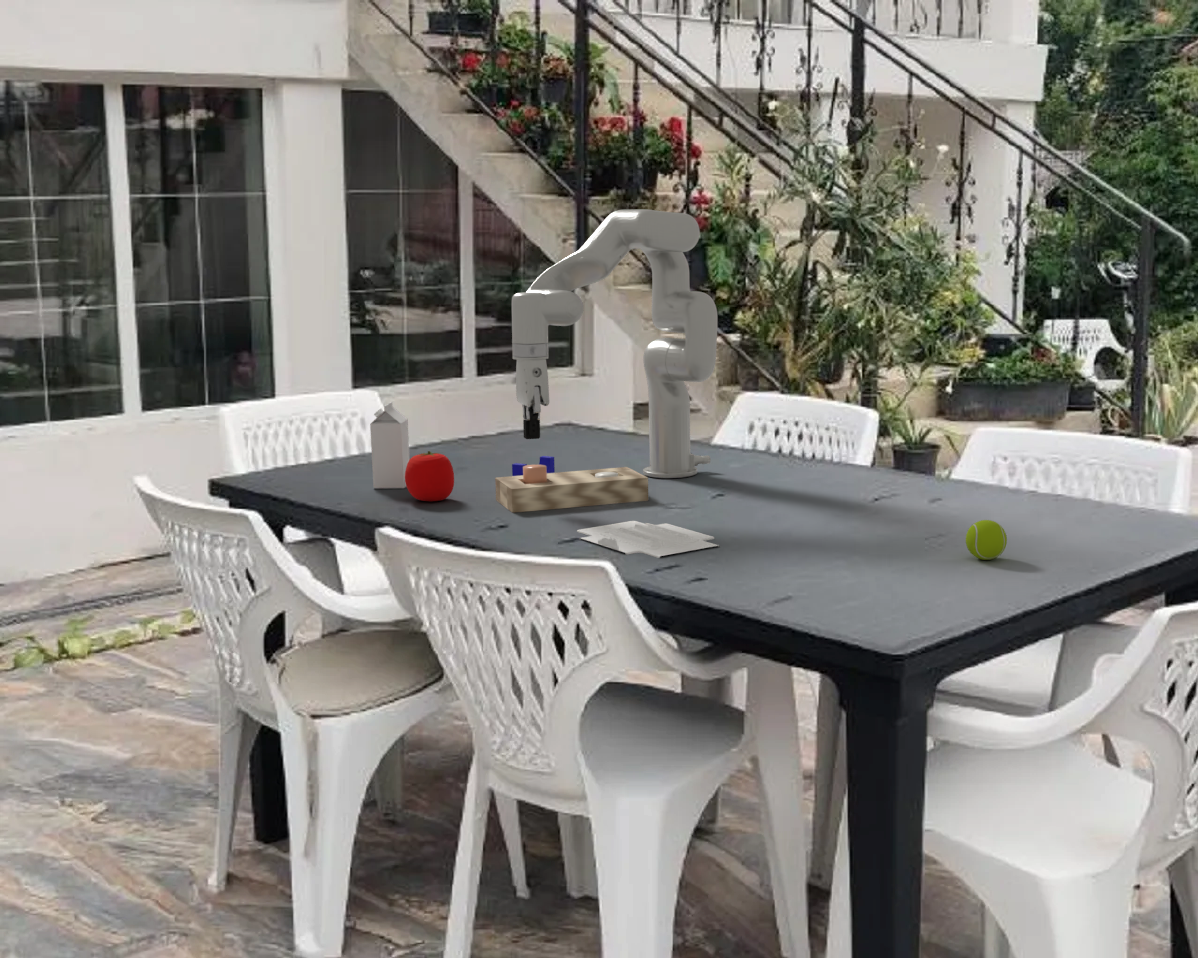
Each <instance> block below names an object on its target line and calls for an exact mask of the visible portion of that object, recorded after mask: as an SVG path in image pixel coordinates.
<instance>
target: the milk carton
mask: <svg viewBox="0 0 1198 958" xmlns="http://www.w3.org/2000/svg"><path fill="white" fill-rule="evenodd" d="M383 409H384V410H383ZM383 409H382V408H379V409H378V410H377V411H375V413H374V414H373V416H374V417H376V418H374V420H373V421H372V422H371V423H370V425H369V428H370V430H369V431H370V447H371V462H372V463H371V465H372V466H371V467H372V485H373V489H405V488H407V486H406V483H405V470H406V467H407V464H408V462H409V460H410V459H411V457H410V442H409V441H410V440H409V438H410V436H409V422H408V418H407V417H406V416H405V415H403V414H402V413H401V412H400V411H399V410H397V409H396V407H394V406H393V401H390V402H389V403H387V404H385V405H384V406H383Z"/></svg>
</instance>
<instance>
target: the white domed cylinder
mask: <svg viewBox="0 0 1198 958" xmlns="http://www.w3.org/2000/svg"><path fill="white" fill-rule="evenodd" d="M617 476H618V473H615V472H600V473H596V474H595V477H596V478H605V477H617Z"/></svg>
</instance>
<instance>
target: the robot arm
mask: <svg viewBox="0 0 1198 958" xmlns="http://www.w3.org/2000/svg"><path fill="white" fill-rule="evenodd" d="M700 231H701V230H700V227H699V224H698V222H697V220H696V219H695V218H694V217H693V216H692V215H690V214H688V213H683V212H673V211H672V212H671V211H663V210H653V209H619V210H614V211H612V212H611V213H609V215H607V216H606V217H605V219H604V220H603V221H602V222H601V223H600V225H598V227H597V228H596V229H595V230H594V232H593V233H591V235H590V236H589V237H588V239H587V240H586V241H585V242H584V244H583V245H581V247H580V248H579V249H578V250H577V251H574V252H573V253H571V254H569V255H568V256H567V257H564V258H563V259H562V260H560V261H558V262H557V263H555V264H553V265H551V266H549V267H548V268H547V269H546V270H544V271H543V272H542V273H541V274H540V275H538V276H537V278H536V279H535V280H534V281H533V283H532V284H531V285H530V286H529V288H528V289H527V290H526V291H525V292H522V291H521V292H517V293H516V292H515V294H513V295H512V297H511V333H512V334H511V335H512V336H511V337H512V339H511V343H512V344H511V346H512V348H511V349H512V359H513V360H516V366H515V368H516V369H515V371H516V372H515V373H516V374H515V392H516V393H515V394H516V400H517V402H518V403H519V404H521V405H522V417H523V422H522V425H523V438H524V439H526V440H537V439H540V438H541V413H542V409H541V406H544V407H548V406H549V405H550V389H549V386H550V385H549V372H548V366H547V360H548V359H549V326H557V327H559V326H561V327H568V326H572V325H574V324H575V323H577V322H578V321H579V320H580V319H581V318H582V316H583V314H584V302H583V300H582V299H581V297H580V296H579V295H578V294H577V293H575V292H573V291H574V290H577V289H580V288H582V287H586V286H590V285H592V284H595V283H598V282H600V281H603V280H605V279H606V278H608V277H609V276H610V275H611V273H612V272H613V271H614V270H615V269H616V267H617V266H618V265H619V264H620V262H621V261H622V260H623V259H624V258H625V256H627V254H628V253H629V252H630V251H631V250H634V249H639V250H640V251H642V254H644V255H645V257H646V259H647V260H648V262H649V265H650V268H651V275H652V278H651V279H652V280H651V281H652V283H651V284H652V286H651V320H652V324H653V327H655V328H656V329H657V330H659V331H662V332H667V333H677V334H684V335H685V339H684V338H678V337H677V338H675V337H673V338H672V337H659V338H656V339H655V340H652V341H651V342H650V343H648V344H647V345H646V347H645V349H644V352H643V359H642V360H643V367H644V372H645V376H646V377H645V378H646V382H647V390H648V391H647V393H648V394H647V395H648V428H649V429H648V430H649V431H648V433H649V434H648V435H649V436H648V437H649V438H648V439H649V466H646V467H644V468H643V469H642V472H643V474H642V475H644V476H646V477H648V478H650V477H651V478H657V479H680V478H687V477H693V476H695V475H697V474H698V468H697V466H698V465H705V464H706V465H709V464H711V461H712V460H711V456H710V455H697V454H694V453H691V417H690V416H691V400H690V393H689V391H688V389H687V386H686V383H685V382H688V383H701V382H705V381H707V380H708V379H709V378H711V376H712V375H713V373H714V371H715V367H716V362H717V361H716V360H717V345H718V343H717V341H718V340H717V339H718V309H717V306H716V304H715V301H714V299H713V298H712V297H711V296H710V295H709V294H707V293H705V292H702V291H695V290H694V291H693V290H692V291H691V288H690V287H691V286H690V267H689V262H688V260H687V258H686V256H685V253H686V252H689V251H691V250H692V249H693V248H695V246H696V245H697V244H698V242H699V239H700V235H701V233H700Z"/></svg>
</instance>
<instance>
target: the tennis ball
mask: <svg viewBox="0 0 1198 958" xmlns="http://www.w3.org/2000/svg"><path fill="white" fill-rule="evenodd" d="M1007 541H1008V537H1007V533H1006V531H1005V528H1004V527H1003V526H1002V525H1001V524H1000V523H999V522H996V521H994V520H989V519H982V520H978V521H975V523H973V524H971V526H970V527H969V528H968V530H967V532H966V534H965V544H966V548H967V550H968V551H969V553H970V554H971V555H972V556H973V557H975V558H976V559H977V558H978V560H983V561H990V560H994V559H997V558H998V557H1000V556H1001V555H1002V553H1003V552H1004V551H1005V549H1006V547H1007V543H1008V542H1007Z"/></svg>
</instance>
